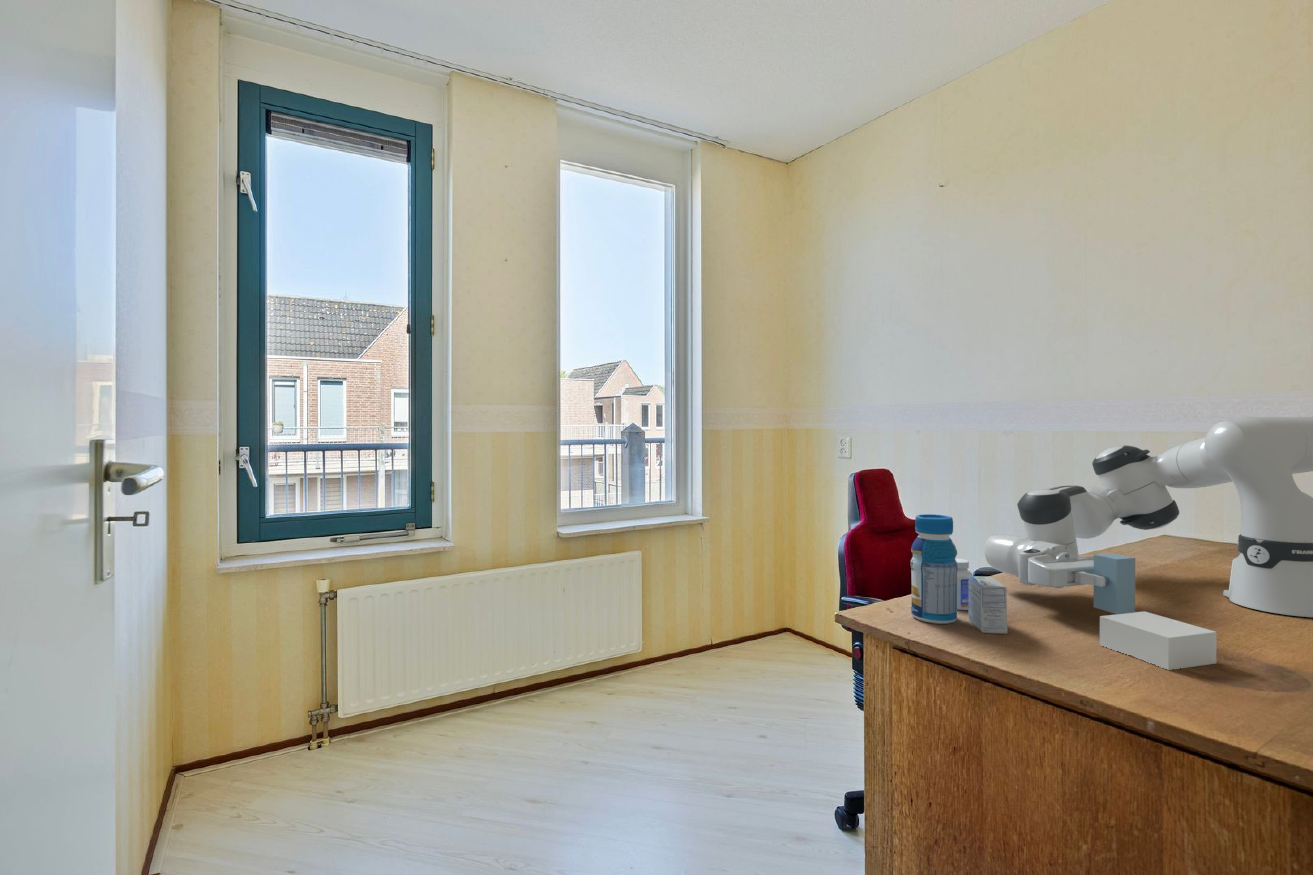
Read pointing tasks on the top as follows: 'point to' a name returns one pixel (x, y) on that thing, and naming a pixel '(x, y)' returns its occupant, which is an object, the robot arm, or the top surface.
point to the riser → (1159, 640)
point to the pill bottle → (962, 584)
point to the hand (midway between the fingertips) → (1118, 580)
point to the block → (1115, 583)
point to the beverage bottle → (934, 570)
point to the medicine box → (987, 604)
